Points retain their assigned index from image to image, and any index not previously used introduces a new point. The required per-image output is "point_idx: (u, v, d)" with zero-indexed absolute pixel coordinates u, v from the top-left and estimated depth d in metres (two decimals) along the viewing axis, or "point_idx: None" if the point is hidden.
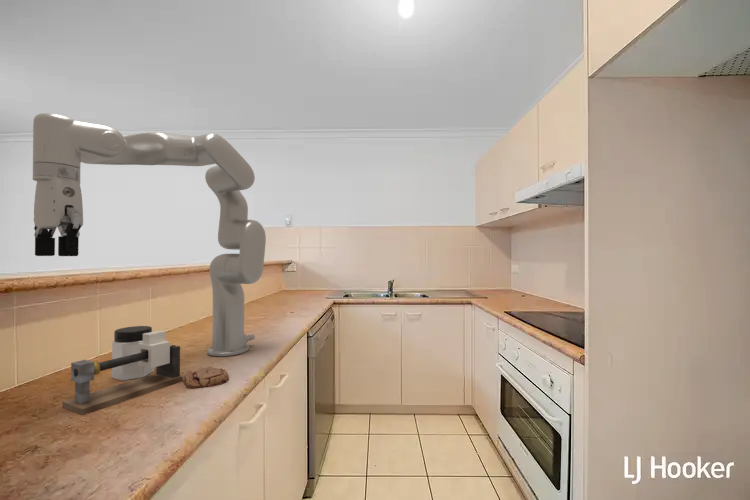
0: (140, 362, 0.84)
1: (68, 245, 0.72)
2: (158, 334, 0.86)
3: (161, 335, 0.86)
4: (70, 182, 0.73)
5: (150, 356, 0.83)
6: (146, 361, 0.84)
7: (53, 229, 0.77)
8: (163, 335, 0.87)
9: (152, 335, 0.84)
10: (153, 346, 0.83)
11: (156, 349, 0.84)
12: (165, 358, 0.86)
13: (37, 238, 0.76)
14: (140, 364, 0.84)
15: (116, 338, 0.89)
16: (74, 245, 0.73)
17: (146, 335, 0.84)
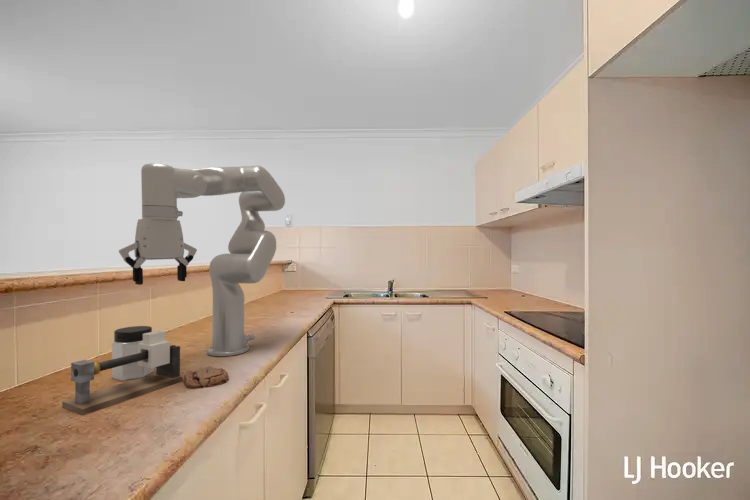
0: (140, 362, 0.84)
1: None
2: (158, 334, 0.86)
3: (161, 335, 0.86)
4: None
5: (150, 356, 0.83)
6: (146, 361, 0.84)
7: None
8: (163, 335, 0.87)
9: (152, 335, 0.84)
10: (153, 346, 0.83)
11: (156, 349, 0.84)
12: (165, 358, 0.86)
13: (141, 269, 0.85)
14: (140, 364, 0.84)
15: (116, 338, 0.89)
16: None
17: (146, 335, 0.84)
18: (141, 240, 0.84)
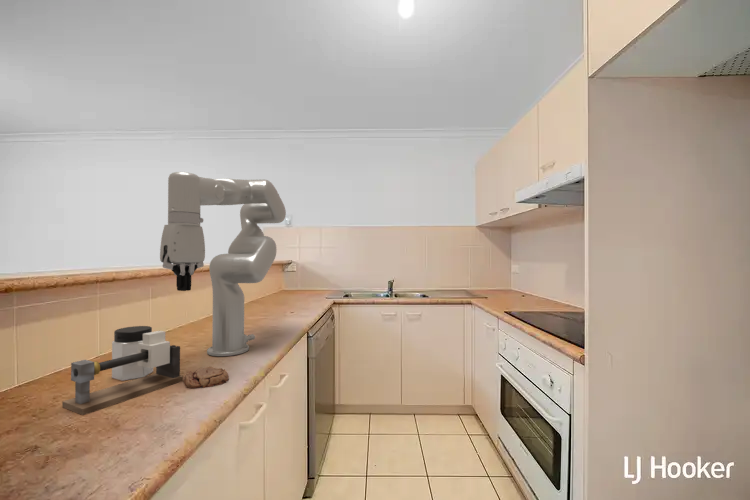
0: (140, 362, 0.84)
1: None
2: (158, 334, 0.86)
3: (161, 335, 0.86)
4: None
5: (150, 356, 0.83)
6: (146, 361, 0.84)
7: None
8: (163, 335, 0.87)
9: (152, 335, 0.84)
10: (153, 346, 0.83)
11: (156, 349, 0.84)
12: (165, 358, 0.86)
13: (186, 276, 0.92)
14: (140, 364, 0.84)
15: (116, 338, 0.89)
16: None
17: (146, 335, 0.84)
18: (171, 245, 0.88)
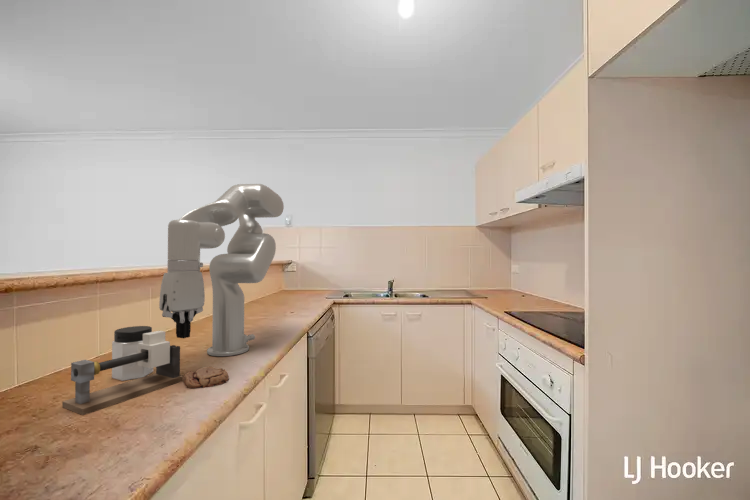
0: (140, 362, 0.84)
1: None
2: (158, 334, 0.86)
3: (161, 335, 0.86)
4: None
5: (150, 356, 0.83)
6: (146, 361, 0.84)
7: None
8: (163, 335, 0.87)
9: (152, 335, 0.84)
10: (153, 346, 0.83)
11: (156, 349, 0.84)
12: (165, 358, 0.86)
13: (186, 323, 0.92)
14: (140, 364, 0.84)
15: (116, 338, 0.89)
16: None
17: (146, 335, 0.84)
18: (171, 294, 0.88)
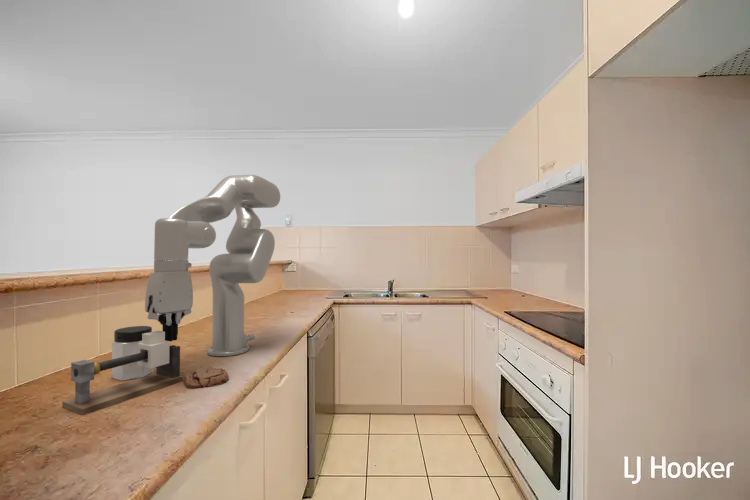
0: (139, 362, 0.84)
1: None
2: (158, 334, 0.85)
3: (161, 335, 0.86)
4: None
5: (149, 356, 0.83)
6: (145, 361, 0.84)
7: None
8: (162, 336, 0.87)
9: (151, 335, 0.84)
10: (153, 346, 0.83)
11: (156, 349, 0.84)
12: (165, 358, 0.86)
13: (173, 325, 0.89)
14: (139, 364, 0.84)
15: (116, 338, 0.89)
16: None
17: (145, 335, 0.84)
18: (157, 295, 0.85)
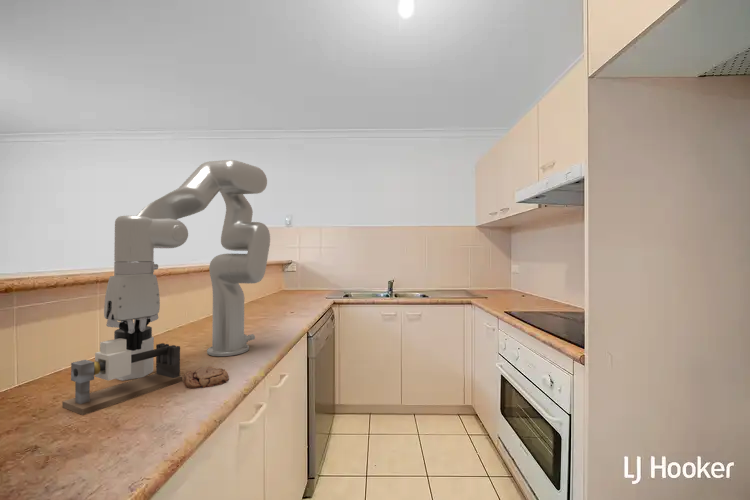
0: None
1: None
2: (118, 342, 0.78)
3: (121, 343, 0.78)
4: None
5: (107, 367, 0.75)
6: (104, 372, 0.76)
7: None
8: (124, 344, 0.79)
9: (110, 344, 0.76)
10: (111, 356, 0.75)
11: (114, 359, 0.76)
12: (125, 369, 0.78)
13: None
14: (97, 376, 0.76)
15: (116, 338, 0.89)
16: None
17: (103, 344, 0.76)
18: (116, 300, 0.77)
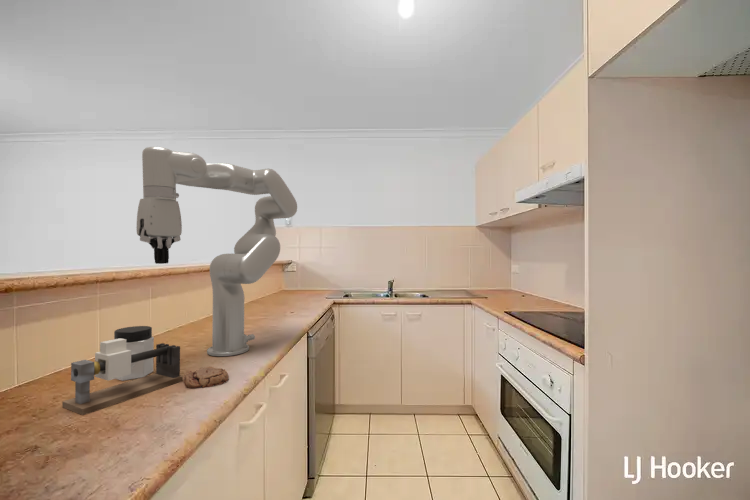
0: None
1: None
2: (118, 342, 0.78)
3: (121, 343, 0.78)
4: None
5: (107, 367, 0.75)
6: (104, 372, 0.76)
7: None
8: (123, 344, 0.79)
9: (110, 344, 0.76)
10: (111, 356, 0.75)
11: (114, 359, 0.76)
12: (125, 369, 0.78)
13: (164, 249, 0.94)
14: (97, 376, 0.76)
15: (116, 338, 0.89)
16: None
17: (103, 344, 0.76)
18: (147, 218, 0.90)
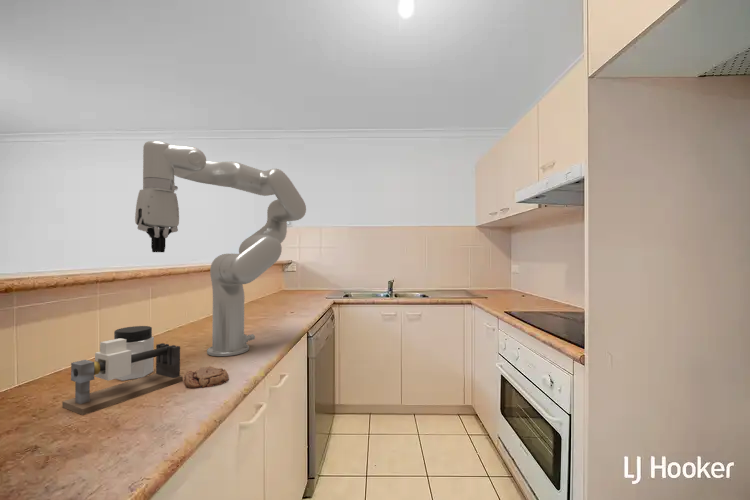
0: None
1: None
2: (118, 342, 0.78)
3: (121, 343, 0.78)
4: None
5: (107, 367, 0.75)
6: (104, 372, 0.76)
7: None
8: (123, 344, 0.79)
9: (110, 344, 0.76)
10: (111, 356, 0.75)
11: (114, 359, 0.76)
12: (125, 369, 0.78)
13: (160, 238, 0.99)
14: (97, 376, 0.76)
15: (116, 338, 0.89)
16: None
17: (103, 344, 0.76)
18: (145, 208, 0.95)
